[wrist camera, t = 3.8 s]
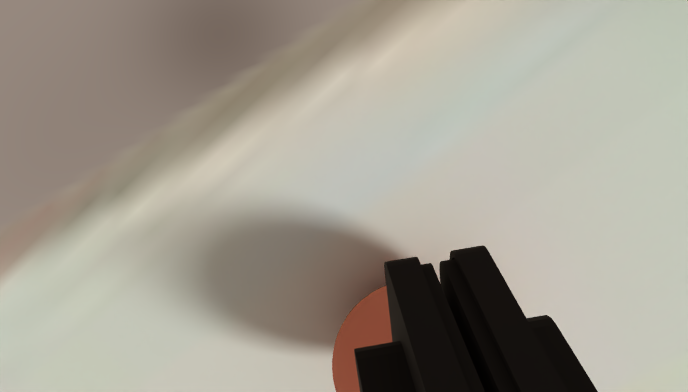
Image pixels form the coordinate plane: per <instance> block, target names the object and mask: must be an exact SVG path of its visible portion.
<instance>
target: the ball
mask: <svg viewBox="0 0 688 392" xmlns="http://www.w3.org/2000/svg"><path fill="white" fill-rule="evenodd" d="M440 285H441V284H440ZM390 342H392V333H391V324H390V315H389V305H388V296H387V287H386V286H384V287H381V288H379V289H377V290H375V291H374V292H372V293H370V294H369V295H368V296H366V297H365V298H364V299H362V300H361V301H360V302H359V303H358V304H357V305H356V306H355V307H354V308H353V309H352V311H351V312H350V313H349V315H348V316H347V317H346V319H345V321H344V322H343V324H342V326H341V328H340V331H339V333H338V335H337V338H336V342H335V346H334V351H333V359H332V371H333V380H334V385H335V389H336V392H360V388H359V381H358V375H357V368H356V361H355V354H354V349H355V348H361V347H367V346H373V345H378V344H384V343H390Z"/></svg>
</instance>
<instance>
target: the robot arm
mask: <svg viewBox="0 0 688 392" xmlns="http://www.w3.org/2000/svg"><path fill="white" fill-rule="evenodd" d="M384 268H385V278H386V287H387V296H388V305H389V315H390V324H391V333H392V342H390V343H384V344H378V345H373V346H367V347H361V348H355V349H354V354H355V361H356V368H357V375H358V381H359V388H360V392H598V391H597V390H596V388H595V387H594V385H593V383H592V382H591V380H590V378H589V377H588V375H587V374H586V372H585V370H584V369H583V367H582V366H581V364H580V362H579V361H578V359H577V357H576V356H575V354H574V353H573V351H572V349H571V348H570V346H569V345H568V343H567V341H566V340H565V338H564V336H563V335H562V333H561V332H560V330H559V328H558V327H557V325H556V324H555V322H554V321H553V320H552V318H551V317H549V316H547V315H544V316H538V317H532V318H527V319H526V317H525V315H524V313H523V312H522V310H521V308H520V306H519V305H518V303H517V301H516V299H515V298H514V296H513V294H512V292H511V290H510V289H509V287H508V285H507V283H506V282H505V280H504V278H503V276H502V275H501V273H500V271H499V269H498V267H497V266H496V264H495V262H494V260H493V259H492V257H491V255H490V253H489V252H488V250H487V248H486V247H485V246H477V247H471V248H465V249H459V250H453V251H451V252H450V260H446V261H441V262H440V282H439V280H438V277H437V275H436V273H435V270H434V268H433V266H432V264H431V263H429V264H423V265H421V264H420V262H419V259H418V258H417V257H412V258H406V259H400V260H394V261H388V262H385V263H384ZM440 284H441V285H440Z"/></svg>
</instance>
